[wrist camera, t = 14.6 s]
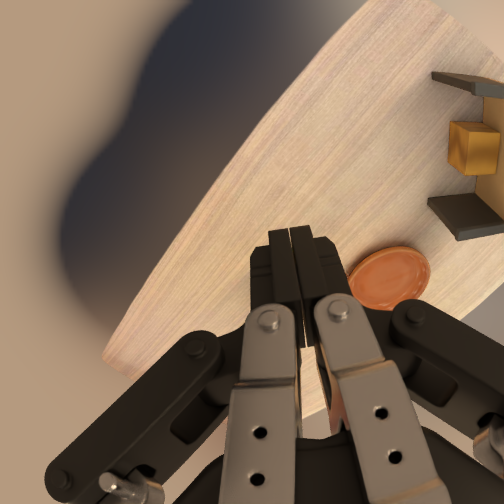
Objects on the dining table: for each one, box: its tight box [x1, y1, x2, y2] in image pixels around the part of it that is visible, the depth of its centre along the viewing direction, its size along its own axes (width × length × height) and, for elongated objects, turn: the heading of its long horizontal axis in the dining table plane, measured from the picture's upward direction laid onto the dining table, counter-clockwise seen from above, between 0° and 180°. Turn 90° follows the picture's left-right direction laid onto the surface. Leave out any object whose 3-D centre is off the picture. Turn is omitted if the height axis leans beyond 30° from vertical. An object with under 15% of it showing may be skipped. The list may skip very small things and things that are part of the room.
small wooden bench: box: [427, 72, 504, 241], centre depth 30 cm, size 11×21×16 cm, turn 10°
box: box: [448, 121, 501, 176], centre depth 34 cm, size 6×6×5 cm
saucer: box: [348, 246, 430, 311], centre depth 50 cm, size 16×16×3 cm
